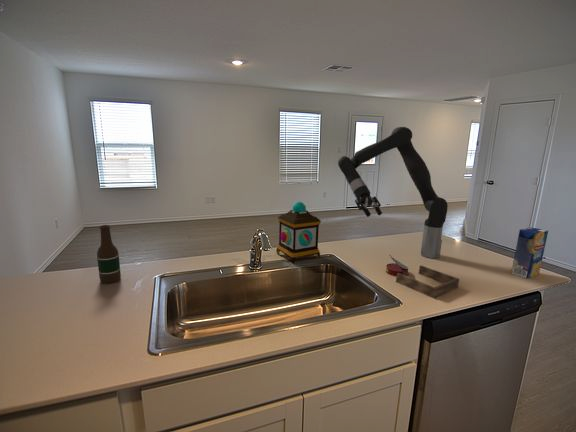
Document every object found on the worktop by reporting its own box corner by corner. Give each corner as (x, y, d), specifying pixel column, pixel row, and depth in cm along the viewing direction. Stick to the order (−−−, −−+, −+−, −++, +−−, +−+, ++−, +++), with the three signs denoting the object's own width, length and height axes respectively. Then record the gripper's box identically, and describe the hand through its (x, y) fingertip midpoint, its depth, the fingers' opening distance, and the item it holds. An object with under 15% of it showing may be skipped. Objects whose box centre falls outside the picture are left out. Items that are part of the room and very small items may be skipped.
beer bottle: (125, 278, 131) (120, 224, 125) (109, 285, 123) (103, 229, 118) (111, 275, 133) (105, 222, 128) (95, 282, 126) (88, 226, 121)
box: (395, 281, 134) (396, 273, 133) (420, 273, 144) (421, 265, 143) (434, 298, 119) (435, 289, 119) (457, 287, 130) (459, 278, 129)
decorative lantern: (303, 248, 176) (305, 197, 170) (323, 259, 160) (326, 203, 153) (272, 253, 166) (273, 199, 160) (291, 265, 150) (293, 206, 143)
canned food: (389, 277, 150) (394, 258, 152) (409, 282, 143) (414, 261, 145) (379, 272, 142) (384, 252, 144) (400, 277, 135) (404, 255, 137)
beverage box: (538, 274, 146) (548, 230, 141) (527, 278, 141) (536, 233, 136) (522, 269, 152) (531, 227, 147) (511, 273, 147) (519, 229, 142)
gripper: (354, 185, 150) (370, 212, 143) (373, 184, 158) (389, 210, 151) (345, 194, 155) (360, 220, 148) (364, 192, 163) (379, 218, 156)
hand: (375, 215), depth 150 cm, fingers open, 8 cm apart
